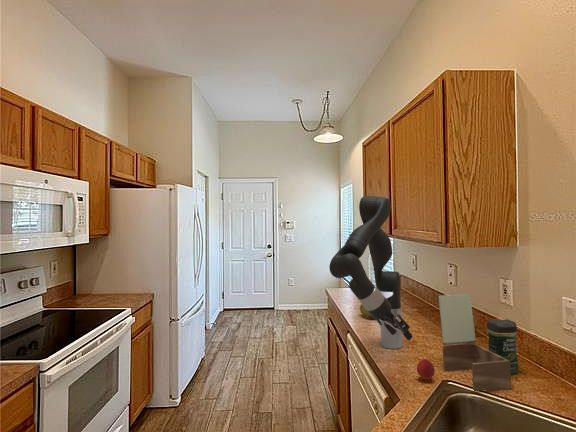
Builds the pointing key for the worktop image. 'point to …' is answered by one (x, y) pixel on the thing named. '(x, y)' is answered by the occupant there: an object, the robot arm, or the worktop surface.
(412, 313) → the worktop surface
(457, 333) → the lid
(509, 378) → the cubby
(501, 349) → the coffee jar
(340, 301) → the worktop surface
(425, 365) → the onion
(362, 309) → the avocado
